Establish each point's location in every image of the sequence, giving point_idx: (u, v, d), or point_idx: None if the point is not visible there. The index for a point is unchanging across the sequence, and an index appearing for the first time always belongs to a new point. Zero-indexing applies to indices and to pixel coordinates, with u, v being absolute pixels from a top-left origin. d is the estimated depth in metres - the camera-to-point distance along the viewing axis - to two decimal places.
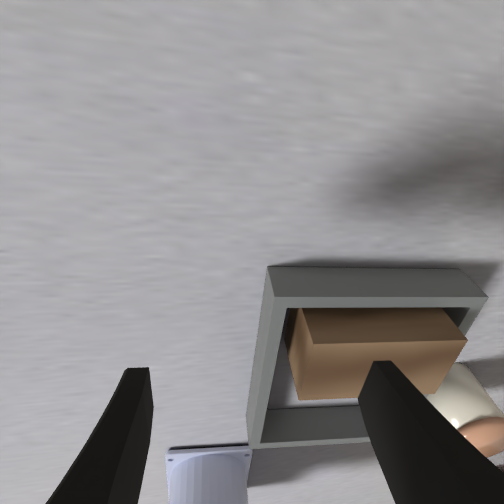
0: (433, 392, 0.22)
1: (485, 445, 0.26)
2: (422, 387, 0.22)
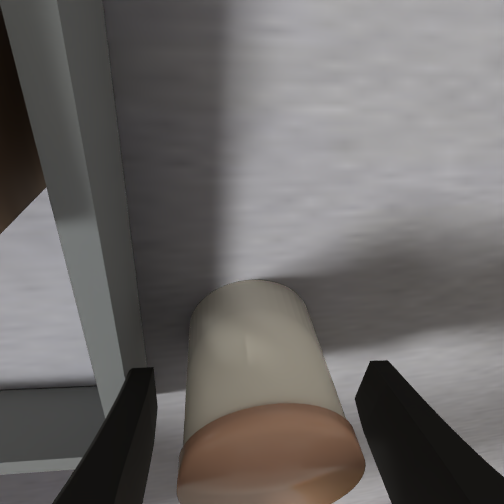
0: None
1: (276, 487, 0.09)
2: None
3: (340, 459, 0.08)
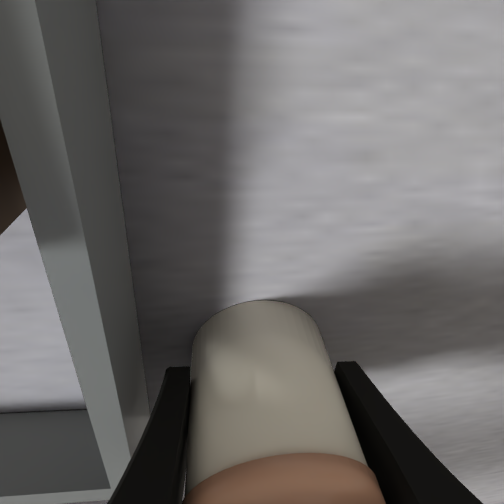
0: None
1: None
2: None
3: None
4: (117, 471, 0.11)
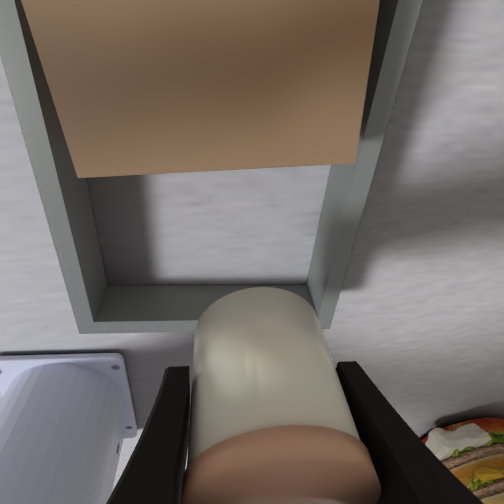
0: (351, 158, 0.11)
1: None
2: (323, 141, 0.11)
3: (355, 485, 0.08)
4: (328, 303, 0.18)
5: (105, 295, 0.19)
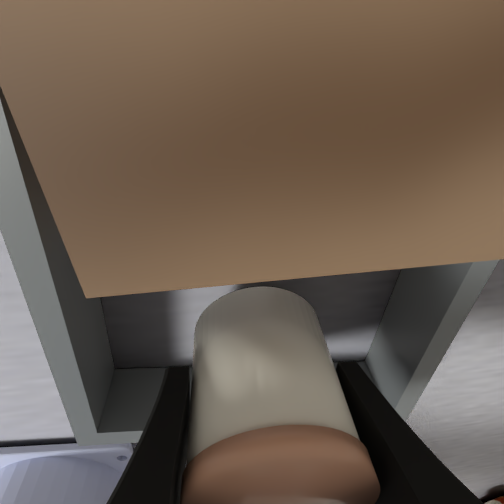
0: None
1: None
2: (485, 230, 0.07)
3: (354, 484, 0.08)
4: (406, 401, 0.14)
5: (112, 385, 0.14)
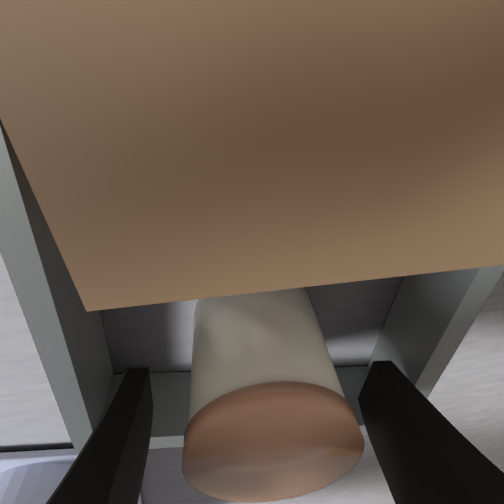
0: None
1: (278, 464, 0.09)
2: (499, 233, 0.06)
3: (340, 437, 0.09)
4: None
5: (111, 391, 0.14)
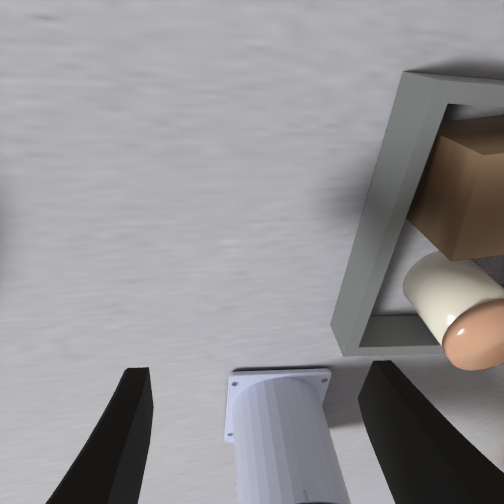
0: None
1: (493, 343, 0.19)
2: None
3: None
4: None
5: None
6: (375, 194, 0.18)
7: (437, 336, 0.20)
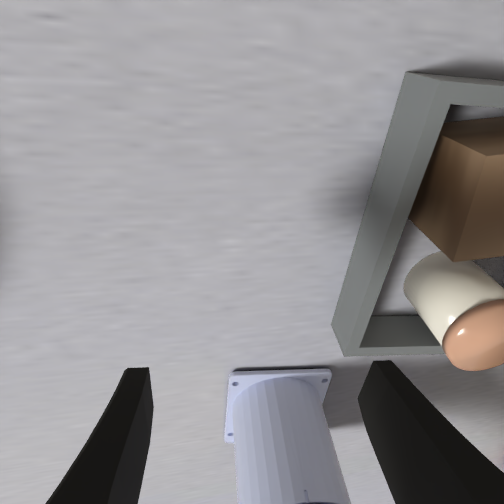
0: None
1: (494, 343, 0.19)
2: None
3: None
4: None
5: None
6: (377, 194, 0.18)
7: (437, 336, 0.20)
